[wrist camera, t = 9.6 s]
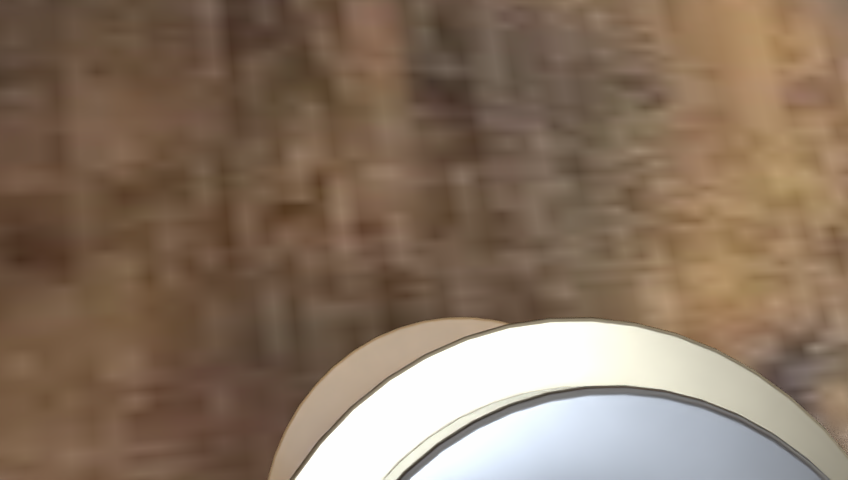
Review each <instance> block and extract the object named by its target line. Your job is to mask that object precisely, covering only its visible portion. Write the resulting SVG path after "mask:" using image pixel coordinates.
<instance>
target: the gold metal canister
mask: <svg viewBox="0 0 848 480" xmlns="http://www.w3.org/2000/svg"><path fill="white" fill-rule="evenodd" d="M289 480H848V455H847V454H846V453H845V452H844V450H843V449H842V448H841V447H840V446H839V444H838V443H837V442H836V441H835V440H834V439H833V437H832V436H831V435H830V434H829V433H828V432H827V430H826V429H825V428H824V427H823V426H822V425H821V424H820V423H819V422H818V421H816V420H815V419H814V418H813V417H812V416H811V415H810V414H809V413H808V412H807V411H806V410H805V409H803V408H802V407H801V406H800V405H799V404H798V403H797V402H796V401H795V400H794V399H793V398H792V397H791V396H789V395H788V394H787V393H785V392H784V391H782V390H781V389H780V388H778V387H777V386H776V385H774V384H773V383H771V382H770V381H769V380H767V379H766V378H764V377H763V376H762V375H760V374H759V373H758V372H756V371H755V370H753V369H751V368H750V367H748V366H746V365H744V364H742V363H741V362H739V361H737V360H735V359H733V358H732V357H730V356H728V355H726V354H724V353H722V352H721V351H719V350H717V349H715V348H712V347H710V346H707V345H705V344H702V343H700V342H697V341H695V340H692V339H690V338H687V337H685V336H682V335H680V334H677V333H674V332H670V331H666V330H662V329H658V328H655V327H651V326H647V325H643V324H639V323H635V322H627V321H619V320H610V319H602V318H594V317H578V318H545V319H539V320H532V321H525V322H519V323H512V324H506V325H503V326H499V327H496V328H492V329H489V330H485V331H482V332H479V333H475V334H472V335H468V336H465V337H463V338H460V339H458V340H456V341H454V342H451V343H449V344H447V345H445V346H442V347H440V348H438V349H436V350H433V351H431V352H429V353H427V354H424V355H423V356H421V357H420V358H418V359H416V360H415V361H413V362H411V363H410V364H408V365H406V366H405V367H403V368H402V369H400V370H398V371H397V372H395V373H393V374H392V375H390V376H388V377H387V378H386V379H384V380H383V381H382V382H381V383H379V384H378V385H377V386H376V387H374V388H373V389H372V390H371V391H369V392H368V393H367V394H366V395H364V396H363V397H362V398H361V399H360V400H358V401H357V402H356V403H355V404H353V405H352V406H351V407H350V408H349V409H348V410H347V411H346V412H345V413H344V414H343V415H342V416H341V417H340V418H339V419H338V420H337V422H336V423H335V424H334V425H333V426H332V427H331V428H330V429H329V430H328V431H327V432H326V433H325V434H324V435H323V436H322V437H321V438H320V439H319V440H318V442H317V443H316V444H315V446H314V447H313V448H312V450H311V451H310V452H309V454H308V455H307V456H306V458H305V459H304V460H303V462H302V463H301V465H300V466H299V467H298V469H297V470H296V471H295V473H294V474H293V475H292V477H291V478H290V479H289Z"/></svg>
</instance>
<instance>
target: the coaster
mask: <svg viewBox="0 0 848 480" xmlns="http://www.w3.org/2000/svg"><path fill="white" fill-rule="evenodd" d="M506 324H509V323H505V322H502V321H498V320H491V319H483V318H475V317H446V318H439V319H433V320H426V321H420V322H417V323H413V324H410V325H406V326H403V327H399V328H397V329H394V330H392V331H390V332H387V333H385V334H383V335H380V336H378V337H376V338H374V339H372V340H370V341H369V342H367V343H365V344H364V345H362V346H360V347H359V348H357V349H355V350H354V351H352V352H351V353H350V354H348V355H347V356H346V357H345V358H343V359H342V360H341V361H339V362H338V363H337V364H336V365H334V366H333V367H332V368H331V369H330V370H329V371H328V372H327V373H326V374H325V375H324V376H323V377H322V378H321V379H320V380H319V381H318V382H317V383H316V384H315V385H314V387H313V388H312V389H311V391H310V392H309V393H308V395H307V396H306V397H305V398H304V400H303V401H302V402H301V404H300V405H299V406H298V408H297V410H296V411H295V413H294V415H293V417H292V418H291V420H290V422H289V424H288V425H287V427H286V429H285V431H284V433H283V435H282V438H281V440H280V443H279V445H278V447H277V450H276V452H275V454H274V457H273V461H272V465H271V468H270V472H269V475H268V479H267V480H289V479H290V478H291V477H292V475H293V474H294V473H295V471H296V470H297V469H298V467H299V466H300V465H301V463H302V462H303V460H304V459H305V458H306V456H307V455H308V454H309V452H310V451H311V450H312V448H313V447H314V446H315V444H316V443H317V442H318V440H319V439H320V438H321V437H322V436H323V435H324V434H325V433H326V432H327V431H328V430H329V429H330V428H331V427H332V426H333V425H334V424H335V423H336V422H337V420H338V419H339V418H340V417H341V416H342V415H343V414H344V413H345V412H346V411H347V410H348V409H349V408H350V407H351V406H352V405H353V404H355V403H356V402H357V401H358V400H360V399H361V398H362V397H363V396H364V395H366V394H367V393H368V392H369V391H371V390H372V389H373V388H374V387H376V386H377V385H378V384H379V383H381V382H382V381H383V380H384V379H386V378H387V377H388V376H390V375H392V374H393V373H395V372H397V371H398V370H400V369H402V368H403V367H405V366H406V365H408V364H410V363H411V362H413V361H415V360H416V359H418V358H420V357H421V356H423V355H424V354H427V353H429V352H431V351H433V350H436V349H438V348H440V347H442V346H445V345H447V344H449V343H451V342H454V341H456V340H458V339H460V338H463V337H465V336H468V335H472V334H475V333H479V332H482V331H485V330H489V329H492V328H496V327H499V326H503V325H506Z"/></svg>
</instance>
